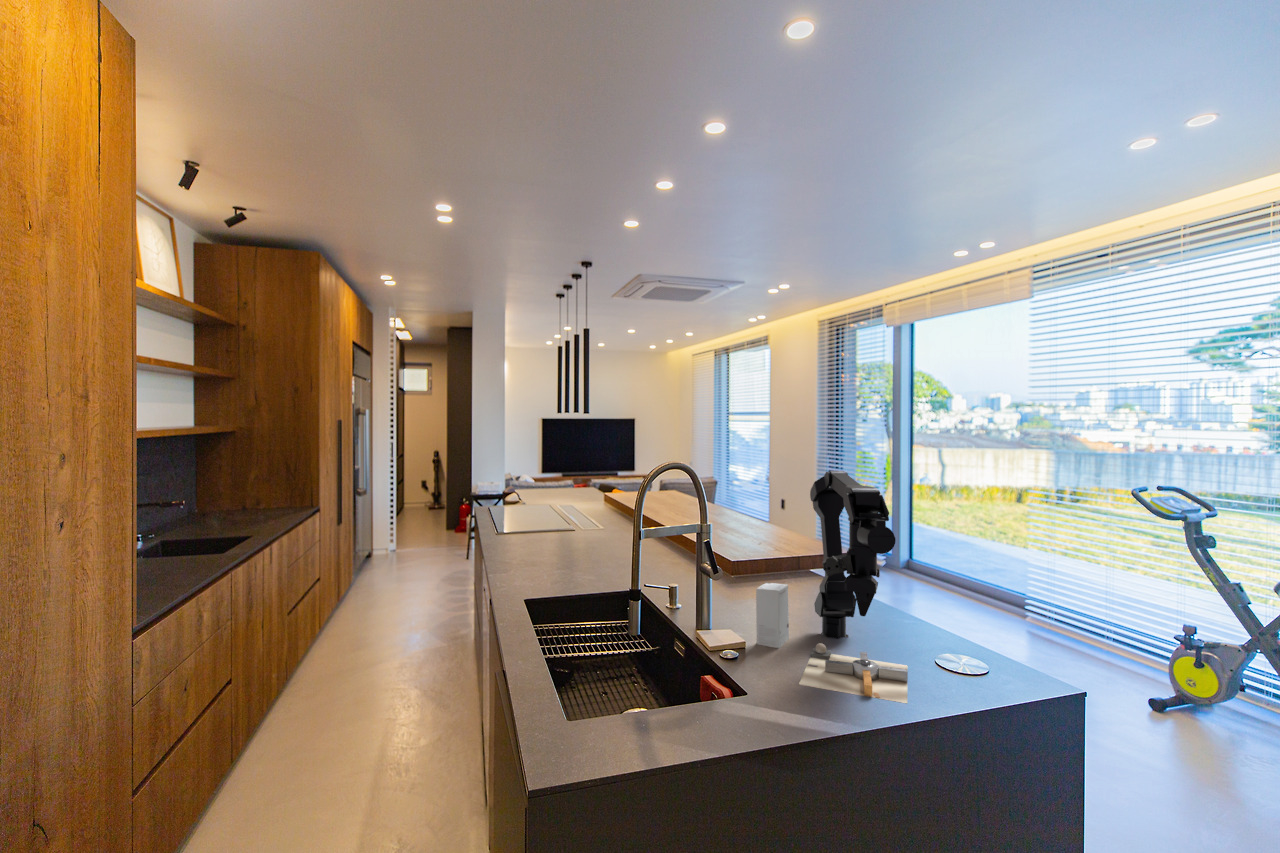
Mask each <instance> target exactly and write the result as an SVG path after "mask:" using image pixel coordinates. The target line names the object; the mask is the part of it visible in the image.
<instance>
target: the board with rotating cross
mask: <svg viewBox="0 0 1280 853" xmlns="http://www.w3.org/2000/svg"><path fill="white" fill-rule="evenodd" d="M825 660H832V661H841V662H849V663H853V661H855V660H860V657H854V656H847V655H841V654H834V653H832V650H831V649H827V647H826V645H825V644H823V643H822V642H821V643H820V642H819V643H817V644H816V645H815V647H812V649H811V652H810V658H809V660H808V662H807V664H806V667H805V669H804V671H803V673H802V675H801V678H800V681H799V683H798V685H799V686H804V687H812V688H817V689H822V690H828V691H834V692H840V693H845V694H851V695H856V696H860V697H861V696H862V697H868V698H874V699H877V700H879V699H880V700H886V701H890V702H897V703H903V704H908V682H906V681H898V680H890V679H882V678H878V680H876V681H872V696H866V695H864V687H863V680H860V679H857V678H855V677H854V676H853V675H849V674H841V673H833V672H825ZM868 660H869V661H872V662H875V663H877V664H878V666H884V667H892V668H901V669H907V671H908V672H909V670H908V668H909V667H908V665H906V664H900V663H894V662H887V661H881V660H874V659H868Z"/></svg>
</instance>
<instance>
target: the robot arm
mask: <svg viewBox="0 0 1280 853" xmlns="http://www.w3.org/2000/svg"><path fill="white" fill-rule="evenodd" d="M809 493H810V494H809V498H810V501H811V502H812V507H813V508H812V509H813V510H814V511H815V514H817V517H819V519H820V527H821V528H820V530H821V540H822V542H821V543H822V552H823V561H822V562H821V564H822V566H823V567H822V569H823V571H824V577H823V579H822V580H821V582H820V585H819V588H818V589H819V592H818V594H817V596H816V599H815V600H814V604H813V606H814V612H815V613H816V614H817V615H818V616H819V618H821V625H822V626H821V628H822V629H821V634H820V635H824V636H825V637H826V638H829V639H837V640H839V639H840V638H846V639H849V637H850V636H849V634H847V618H854V617H855V613H856V605H857V609H858V613H859V615H860V616H861V617H866V616H867V613H868V610H869V608H870V607H871V604H872V601H873V600H874V597H875V595H876V594H877V590H878V585H879V582H878V581H877V580H876V579H875V578H874V577H876V578H880V575H881V573H880V572H881V571H880V570H881V569H880V568H881V566H879V565H878V555H884V554H888V553H889V552H891V551H892V550H893V549H894V547H895V544H896V536H895V533H894V532H893V531H892V529H890V528H889V527H887V523H886V522H888V521H889V520H890V519H889V515H890V512H889V509H888V506H887V503H886V501H885V498H884V497H883V496H884V495H883V494H882V493H881V491H880V489H878V487H874V486H871V485H870V486H868V485H862V484H860V483H859V482H858V481H856V480H855V479H854V478H853V477H852V476H850V475H849V473H848V472H846V471H844V470H828V471H826V472H824V475H823V476H822V477H820V478H819V479H816V480H815V481H814V482H813V484H812V485H811V488H810V491H809ZM844 509H845V511H846V513H847V516H848V518H847V520H848V522H849V525H848V526H849V530H848V531H849V532H848V533H849V534H848V535H849V545H848V550H846V553H843V547H842V536H841V523H840V517H841V515H842V513H843V510H844ZM845 572H846V575H848V576H846V575H845Z"/></svg>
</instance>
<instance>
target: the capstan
mask: <svg viewBox="0 0 1280 853" xmlns="http://www.w3.org/2000/svg"><path fill="white" fill-rule="evenodd" d="M859 658H860V660H855V661H853V663H849V662H841V661H832V660H825V672H833V673H841V674H849V675H853V676H854V677H855V678H857V679H860V680H863V687H864V695H866V696H865V697H867V696H872V681H876V680H878V678H882V679H890V680H898V681H906V682H907V683H908V681H909V680H908V678H909V677H908V676H909V675H908V672H909V670H908V671H907V669H901V668H892V667H884V666H878V664H877V663H875V662H872V661H869V660H870V659H869V657H868V652H865V651H860V652H859Z"/></svg>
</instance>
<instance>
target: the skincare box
mask: <svg viewBox="0 0 1280 853" xmlns="http://www.w3.org/2000/svg"><path fill="white" fill-rule="evenodd" d="M755 591H756V592H755V593H756V594H755V595H756V598H755V600H756V601H755V603H756V606H755V607H756V608H755V609H756V619H755V620H756V645H758V646H759V645H760V646H765V647H770V648H775V649H781V647H783V645H784V644H786V642H787V641H788V640H789V638H790V633H789V632H790V630H789V629H790V628H789V626H790V623H789V619H790V618H789V616H790V615H789V614H790V613H789V584H786V583H785V584H784V583H775V582H765V583H764V584H761V585H760V586H758V587H757V588H756V590H755Z"/></svg>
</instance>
